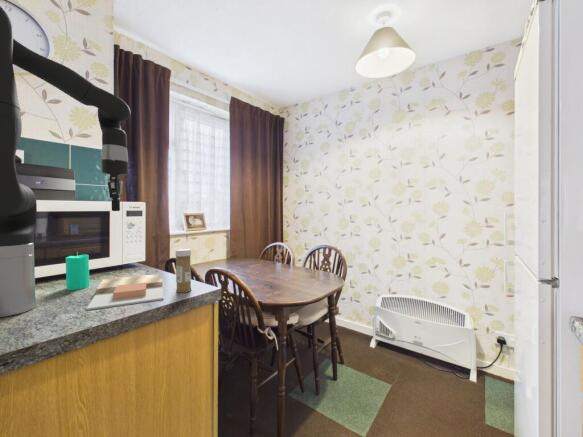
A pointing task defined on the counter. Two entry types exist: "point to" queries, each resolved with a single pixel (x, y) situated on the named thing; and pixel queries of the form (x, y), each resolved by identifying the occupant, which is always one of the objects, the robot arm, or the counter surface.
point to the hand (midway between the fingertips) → (115, 210)
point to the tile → (129, 291)
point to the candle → (77, 272)
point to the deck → (129, 282)
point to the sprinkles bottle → (183, 270)
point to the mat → (107, 299)
